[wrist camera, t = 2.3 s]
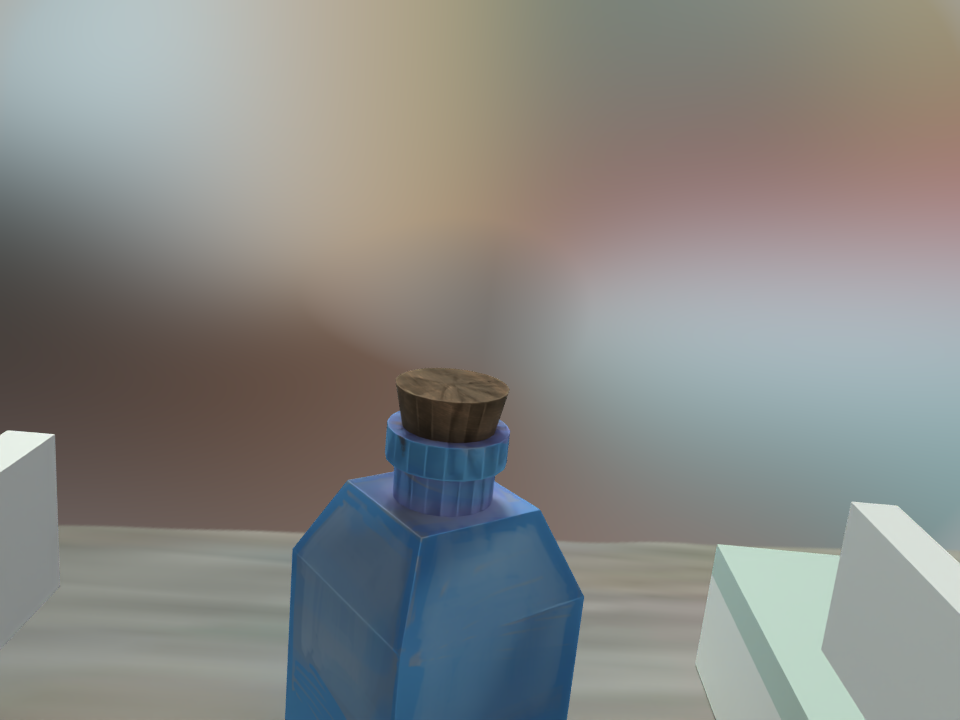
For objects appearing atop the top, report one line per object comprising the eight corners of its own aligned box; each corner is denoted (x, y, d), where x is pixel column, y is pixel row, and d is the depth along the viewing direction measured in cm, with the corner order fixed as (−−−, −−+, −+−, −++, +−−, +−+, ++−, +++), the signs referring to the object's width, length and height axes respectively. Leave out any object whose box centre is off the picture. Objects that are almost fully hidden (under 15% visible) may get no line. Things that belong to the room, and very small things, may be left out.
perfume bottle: (558, 776, 27) (611, 406, 24) (383, 860, 24) (418, 436, 21) (445, 669, 32) (477, 347, 29) (284, 724, 28) (300, 363, 25)
